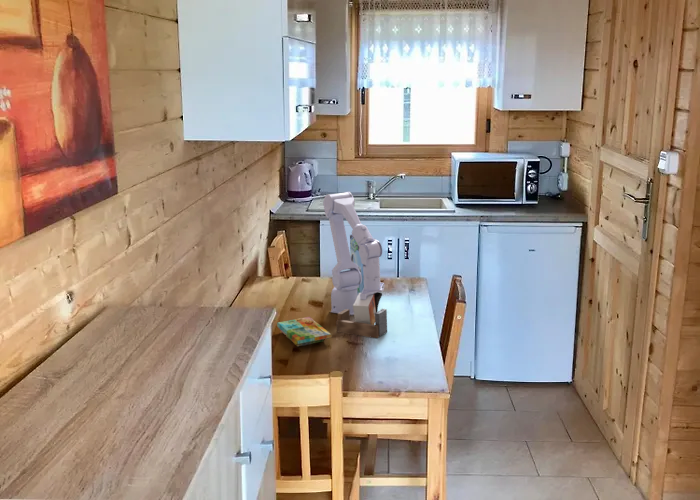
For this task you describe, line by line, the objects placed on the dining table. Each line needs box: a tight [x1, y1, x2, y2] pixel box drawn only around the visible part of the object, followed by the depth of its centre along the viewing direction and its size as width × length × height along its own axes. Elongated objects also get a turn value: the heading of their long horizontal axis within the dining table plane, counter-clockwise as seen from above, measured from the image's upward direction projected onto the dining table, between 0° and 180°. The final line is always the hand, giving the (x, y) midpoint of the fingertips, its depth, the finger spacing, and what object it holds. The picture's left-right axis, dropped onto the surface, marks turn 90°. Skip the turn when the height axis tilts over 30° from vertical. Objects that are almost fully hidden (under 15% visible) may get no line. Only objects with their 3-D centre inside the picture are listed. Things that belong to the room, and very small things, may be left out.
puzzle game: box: [276, 316, 332, 347], centre depth 235 cm, size 12×5×20 cm
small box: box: [353, 293, 376, 325], centre depth 241 cm, size 8×6×10 cm
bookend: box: [374, 308, 388, 338], centre depth 236 cm, size 2×6×8 cm, turn 150°
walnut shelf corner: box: [335, 309, 380, 339], centre depth 239 cm, size 16×7×6 cm, turn 60°
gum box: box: [349, 234, 364, 294], centre depth 278 cm, size 20×5×23 cm, turn 13°
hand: (373, 313), depth 246 cm, fingers closed, pressing on small box
